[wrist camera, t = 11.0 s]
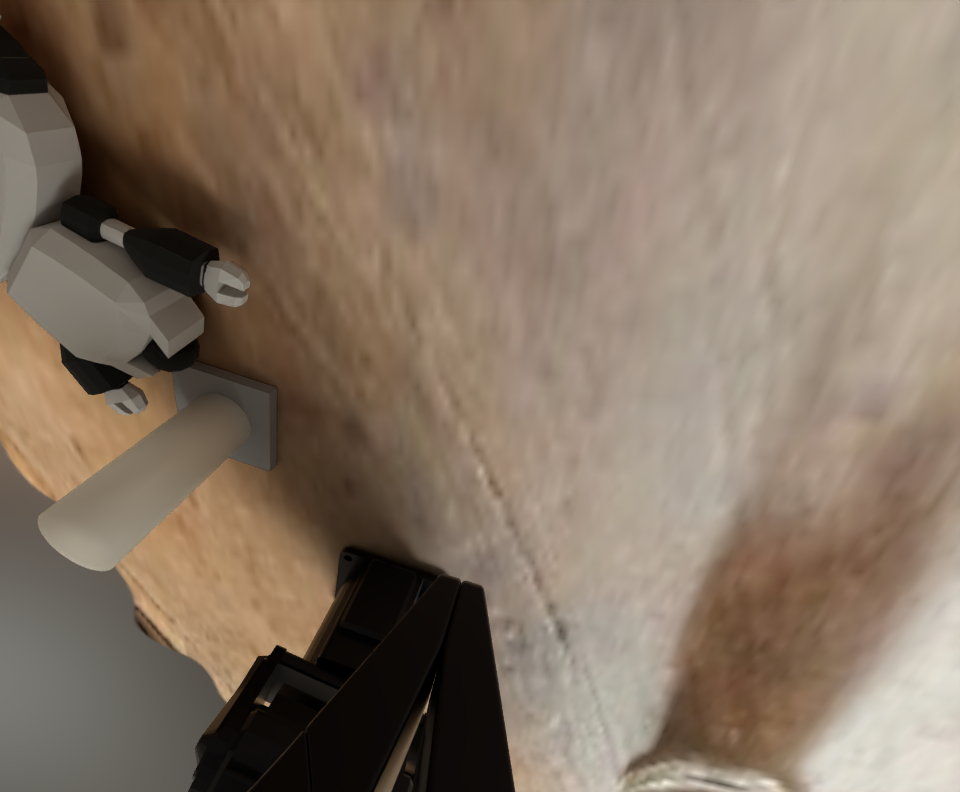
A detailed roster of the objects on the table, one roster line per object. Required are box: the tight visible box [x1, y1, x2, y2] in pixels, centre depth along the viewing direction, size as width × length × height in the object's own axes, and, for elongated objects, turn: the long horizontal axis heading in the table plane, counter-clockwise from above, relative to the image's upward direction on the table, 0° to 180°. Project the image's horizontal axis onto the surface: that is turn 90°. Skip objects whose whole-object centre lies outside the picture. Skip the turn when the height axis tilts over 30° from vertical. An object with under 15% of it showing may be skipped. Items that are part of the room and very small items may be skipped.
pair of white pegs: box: [38, 361, 277, 571], centre depth 13 cm, size 33×5×9 cm, turn 167°
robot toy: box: [0, 15, 250, 415], centre depth 19 cm, size 12×4×15 cm
